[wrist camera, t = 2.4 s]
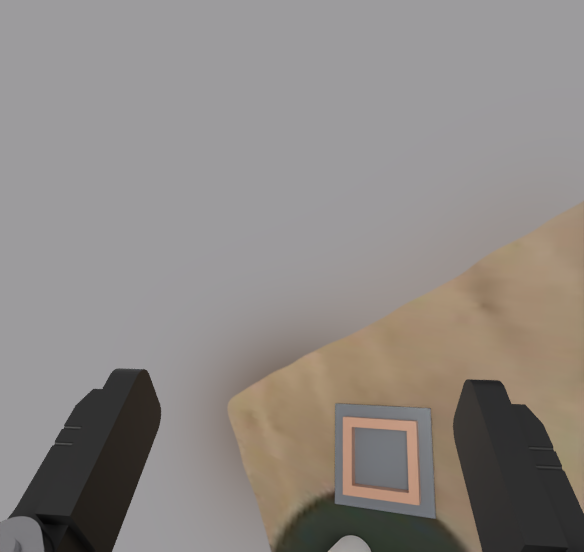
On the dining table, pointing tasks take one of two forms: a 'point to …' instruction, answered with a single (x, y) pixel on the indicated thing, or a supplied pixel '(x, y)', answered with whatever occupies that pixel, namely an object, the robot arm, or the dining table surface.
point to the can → (350, 545)
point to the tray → (384, 459)
